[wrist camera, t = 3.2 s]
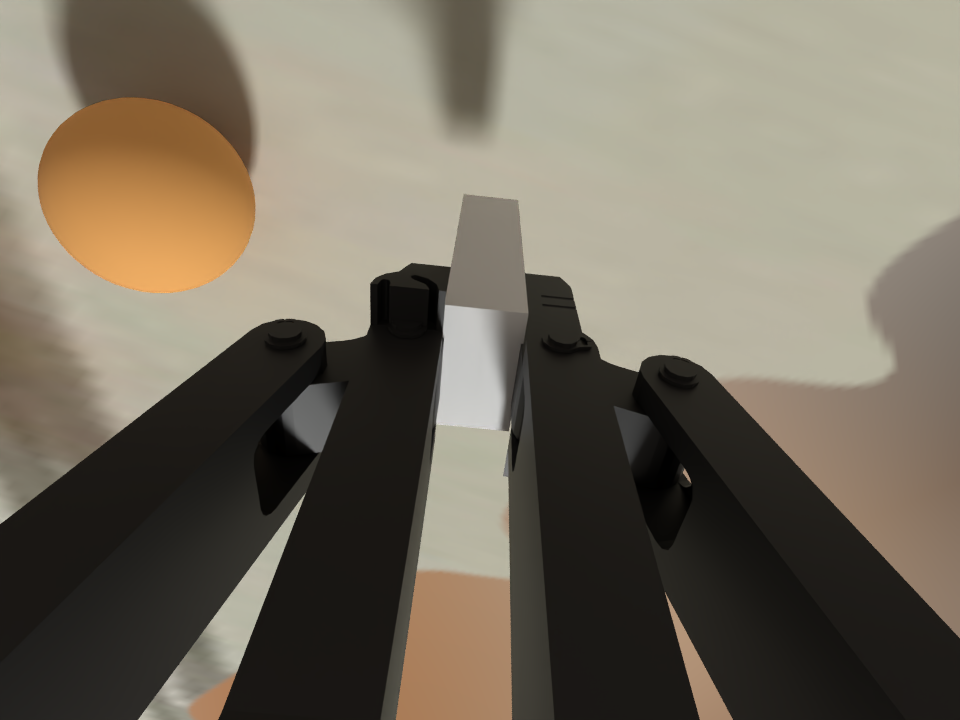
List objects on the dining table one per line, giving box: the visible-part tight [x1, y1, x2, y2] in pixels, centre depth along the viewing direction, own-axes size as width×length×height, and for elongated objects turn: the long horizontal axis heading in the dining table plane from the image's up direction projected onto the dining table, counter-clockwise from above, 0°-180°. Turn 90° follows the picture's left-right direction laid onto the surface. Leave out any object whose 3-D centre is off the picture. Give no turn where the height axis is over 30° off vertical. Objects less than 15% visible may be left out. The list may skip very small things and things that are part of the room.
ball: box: [38, 97, 255, 293], centre depth 17 cm, size 6×6×6 cm
